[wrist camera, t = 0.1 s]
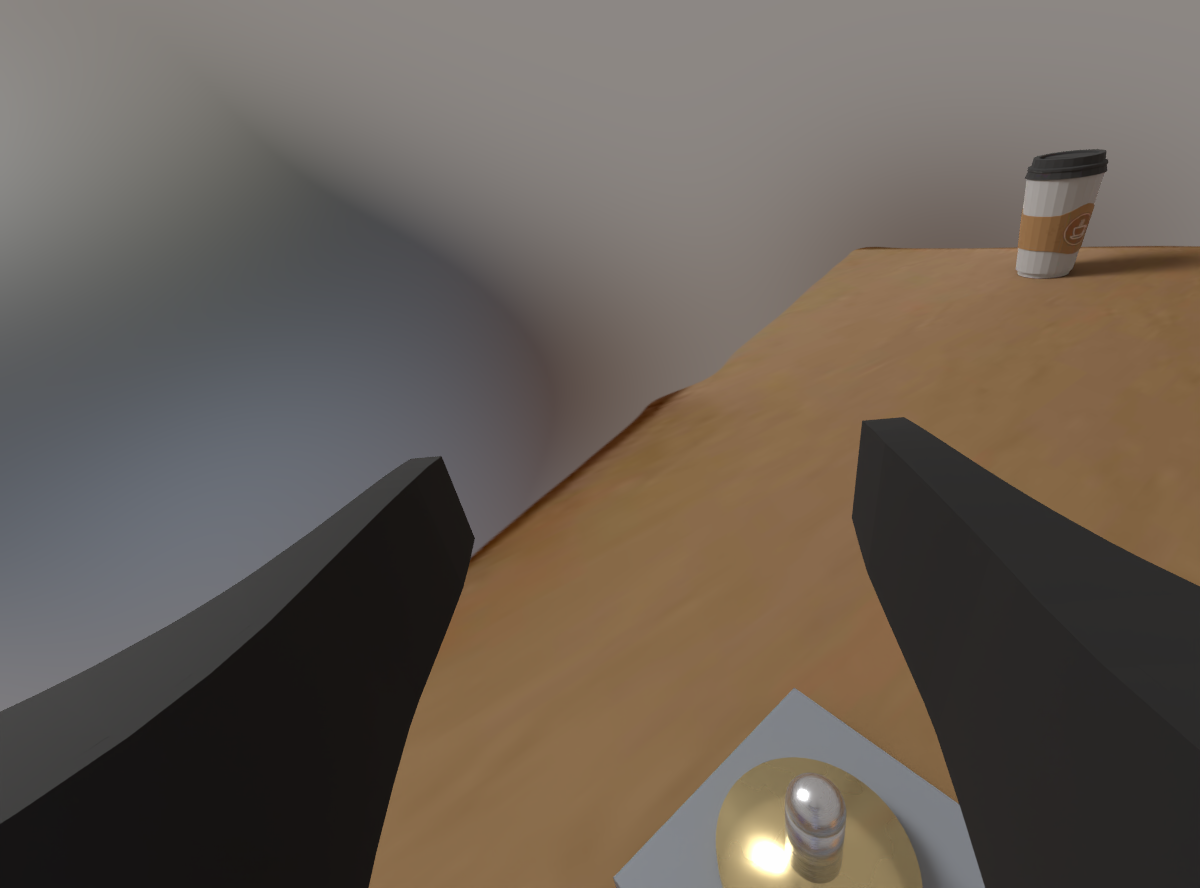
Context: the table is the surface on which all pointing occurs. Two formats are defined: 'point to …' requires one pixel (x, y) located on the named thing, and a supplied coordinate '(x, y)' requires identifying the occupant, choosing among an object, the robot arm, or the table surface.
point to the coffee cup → (1057, 210)
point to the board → (805, 730)
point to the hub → (810, 831)
